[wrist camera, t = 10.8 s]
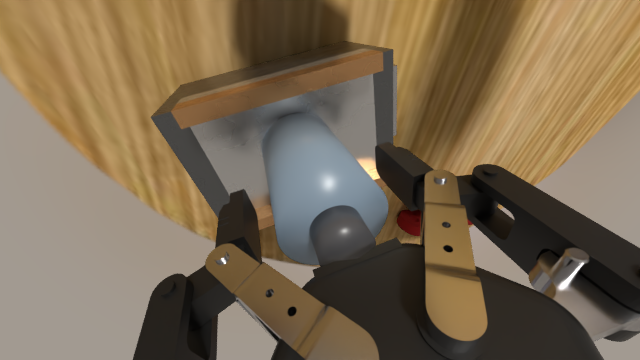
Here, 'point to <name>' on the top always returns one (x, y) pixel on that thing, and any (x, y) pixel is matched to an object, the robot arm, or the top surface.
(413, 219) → the mechanical linkage
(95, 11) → the top surface
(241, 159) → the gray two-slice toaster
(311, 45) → the top surface
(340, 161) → the blue-gray bottle
